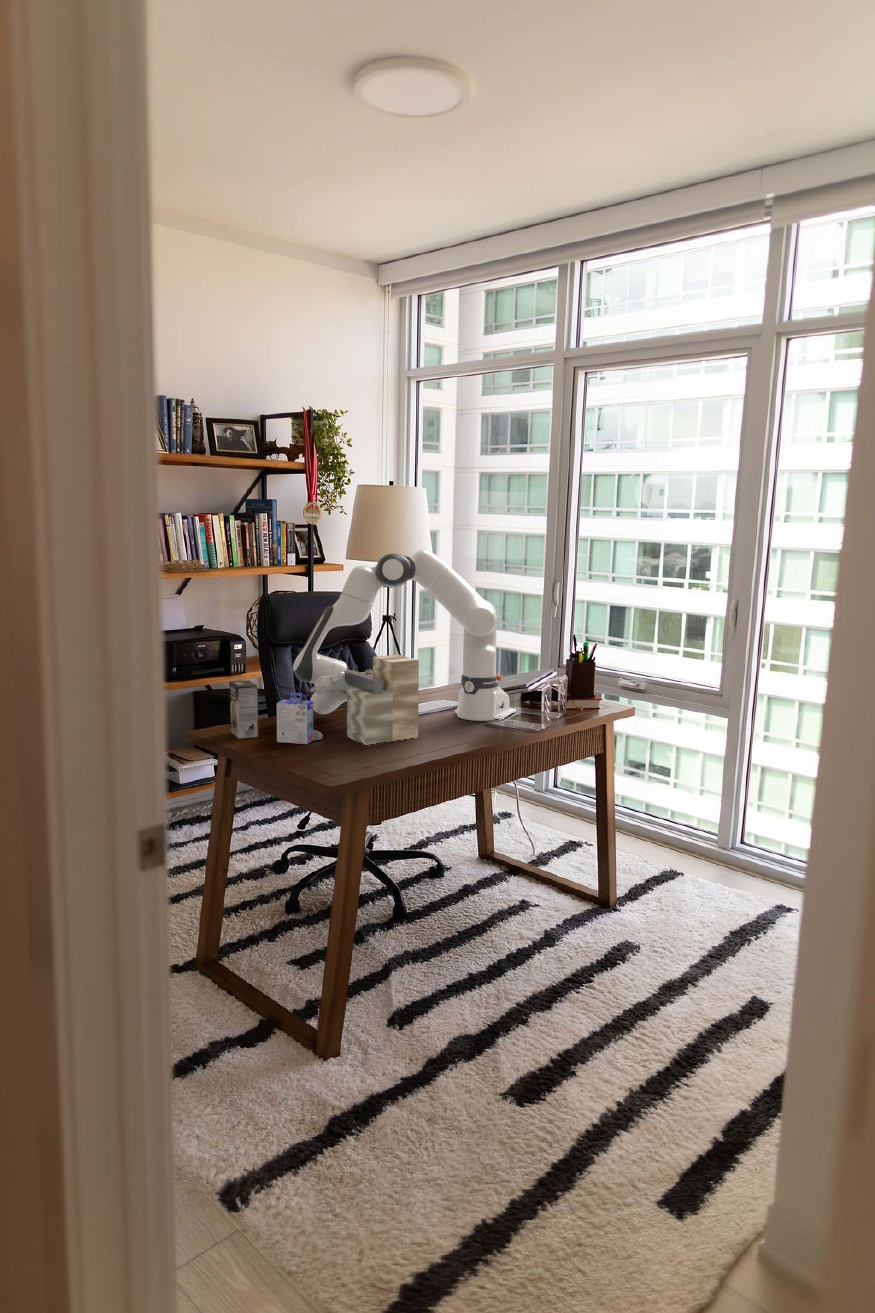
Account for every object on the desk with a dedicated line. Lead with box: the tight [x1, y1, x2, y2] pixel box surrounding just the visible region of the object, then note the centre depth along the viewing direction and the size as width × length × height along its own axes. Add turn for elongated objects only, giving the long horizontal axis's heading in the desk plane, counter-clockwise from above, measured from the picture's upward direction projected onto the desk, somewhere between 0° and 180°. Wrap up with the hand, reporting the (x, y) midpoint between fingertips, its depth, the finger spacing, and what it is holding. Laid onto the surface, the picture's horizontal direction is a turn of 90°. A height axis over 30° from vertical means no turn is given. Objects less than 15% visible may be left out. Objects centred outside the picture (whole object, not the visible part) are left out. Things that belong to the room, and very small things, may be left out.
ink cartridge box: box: [276, 692, 314, 745], centre depth 265 cm, size 10×6×14 cm, turn 78°
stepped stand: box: [346, 654, 420, 746], centre depth 270 cm, size 12×18×24 cm, turn 124°
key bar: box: [344, 669, 383, 694], centre depth 270 cm, size 19×3×4 cm, turn 34°
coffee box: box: [228, 679, 259, 739], centre depth 272 cm, size 9×6×16 cm
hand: (356, 673), depth 273 cm, fingers open, 8 cm apart
